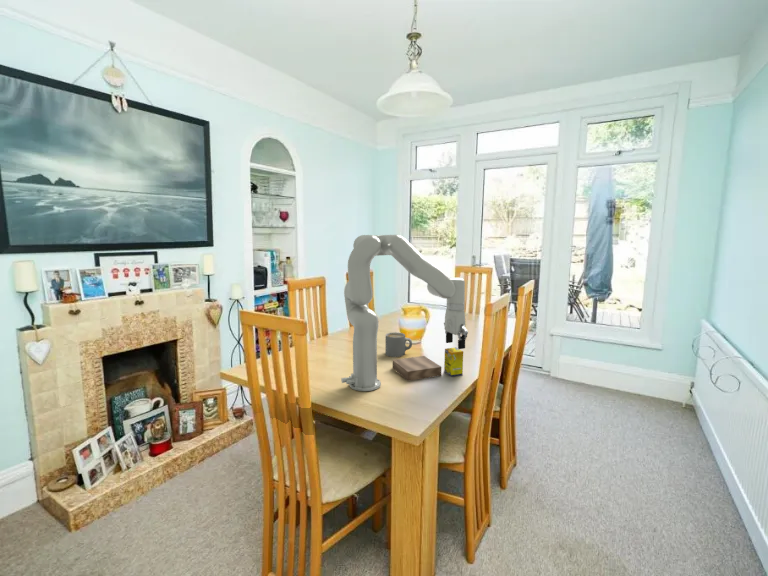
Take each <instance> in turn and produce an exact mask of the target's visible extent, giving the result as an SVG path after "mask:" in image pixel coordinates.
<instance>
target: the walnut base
mask: <svg viewBox="0 0 768 576" xmlns="http://www.w3.org/2000/svg"><path fill="white" fill-rule="evenodd" d="M392 369H393V370H394V371H395V372H396V371H397V372H396V373H397V374H399V375H400V376H401V377H403V379H405V380H406V381H407V382H409V381H415V380H422V379H423V380H424V379H429V377H430V378H436V377H440V376H442V366H441V365H439V364H438V363H436V362H435V361H433V360H431V359H430V358H428V357H426V356H425V355H420V356H414V357H413V356H410V357H404V358H398V359H396V358H395V359H392ZM435 376H436V377H435Z"/></svg>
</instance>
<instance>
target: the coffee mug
mask: <svg viewBox="0 0 768 576" xmlns="http://www.w3.org/2000/svg"><path fill="white" fill-rule="evenodd" d="M406 342H409V345H406ZM412 345H413V341H412V339H411V338H410V337H406V334H405V333H403V332H396V331H395V332H388V333H386V334H385V356H387V357H390V356H391V358H400V357H404V356H405V355H406V351H408V350H410V349H411V348H412V347H413V346H412Z"/></svg>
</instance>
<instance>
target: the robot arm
mask: <svg viewBox="0 0 768 576" xmlns="http://www.w3.org/2000/svg"><path fill="white" fill-rule="evenodd" d="M378 256H392V258H394V259H395V260H396V261H397V262H398V263H399V264H400V266H402V267H403V268H404V269H405V270H406V271H407V272H408V273H409V274H410V275H412V276H413V277H416V278H417V279H419V280H420V281H421V280H422V281H423V282H425V283H426V288H427V291H428V292H429V294H431V295H433V296H435V297H438V298H442V299H446V308H445V313H444V314H445V315H444V322H443V326H444V330H445V343H446V344H448V343H449V344H451V343H453V338H454V337H453V336H454V335H455V336H457V338H458V340H457V348H458V349H460V350H462V349H463V350H464V349H466V340H467V337H468V334H469V331H468V328H466V325H467V324H466V313H465V305H466V304H465V302H466V300H465V296H466V295H465V291H466V282H465V279H464V278H462V277H448V275H446V273H444V272H443V271H442V270H441V269H440V268H439V267H437V266H436V265H434V264H433V263H432V262H431V261H430V260H429V259H427V258H426V257H424V256H423V255H422V253H420V252H419V251H418V250H417V249H416V248H415V247H414V246H413V245H412V244H411V243H410V242H409V241H408V240H407V238H405V237H404V236H402V235H400V234H382V235H381V234H379V235H378V234H377V235H375V234H362V235H358V236H357V237H356V238H355V239H354V241H353V249H352V251H351V252H350V254H349V256H348V259H347V260H348V261H347V273H348V274H347V275H348V281H347V282H346V284H345V286H344V289H343V291H344V292H343V295H344V303H345V311H346V315H347V316H346V317H347V319H348V322H349V323H350V324H351V326H353V334H352V335H353V336H352V370H353V371H352V372H353V373H350V376H348V377H341V378H340V379H341V381H340V382H341V384H343V383H344V384H346V385H349V388H351V389H352V390H354V391H358V392H371V391H375V390H377V389H379V388H380V387H381V385H382V384H381V383H382V382H381V380H380V379H378V371H377V370H378V332H379V318H378V315H377V313H376V312H375V311H374V310H372V309H371V308H369V303H371V301H372V299H373V296H374V295H373V294H374V291H373V286H372V279H371V264H372V261H373V259H374V258H376V257H378Z"/></svg>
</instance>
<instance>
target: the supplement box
mask: <svg viewBox="0 0 768 576" xmlns="http://www.w3.org/2000/svg"><path fill="white" fill-rule="evenodd" d="M443 362H444V364H443V367H444V369H443V371H444V372H443V373H445V374H446V375H448V376H449V377H459V376H463V375H464V374H463V372H464V371H463V370H464V369H463V368H464V351H463V350H462V349H458V347H448V348H444V361H443Z"/></svg>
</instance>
